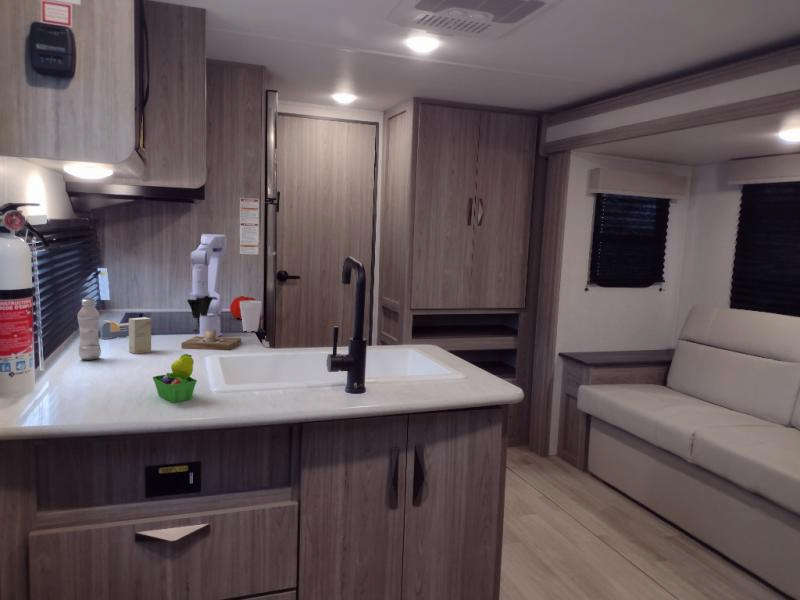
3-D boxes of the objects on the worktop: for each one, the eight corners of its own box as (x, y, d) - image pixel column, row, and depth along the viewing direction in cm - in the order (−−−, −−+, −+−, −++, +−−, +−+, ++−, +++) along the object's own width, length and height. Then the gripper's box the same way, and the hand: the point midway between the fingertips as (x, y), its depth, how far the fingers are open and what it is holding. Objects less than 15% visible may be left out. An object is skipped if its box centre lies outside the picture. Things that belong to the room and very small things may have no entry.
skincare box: (134, 354, 197) (134, 319, 196) (128, 352, 200) (127, 318, 198) (152, 351, 202) (151, 318, 201) (145, 349, 205) (145, 316, 203)
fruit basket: (151, 395, 150) (150, 353, 149) (184, 389, 156) (183, 349, 155) (169, 405, 142) (168, 361, 141) (202, 399, 148) (202, 356, 147)
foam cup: (239, 329, 254) (239, 300, 253) (260, 328, 257) (260, 300, 255) (240, 332, 245) (240, 303, 244) (261, 332, 248) (262, 303, 246)
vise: (104, 340, 219) (104, 323, 218) (93, 337, 225) (92, 320, 225) (149, 335, 233) (149, 319, 232) (137, 332, 239) (137, 316, 239)
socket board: (196, 341, 223) (196, 335, 223) (241, 343, 223) (241, 337, 223) (181, 348, 210) (181, 342, 209) (229, 350, 209) (229, 344, 209)
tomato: (262, 320, 281) (262, 297, 280) (233, 321, 274) (233, 297, 272) (254, 316, 292) (255, 294, 291) (227, 317, 285) (227, 294, 284)
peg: (207, 344, 217) (207, 329, 217) (218, 345, 217) (217, 330, 216) (202, 346, 213) (202, 331, 213) (213, 347, 213) (213, 331, 212)
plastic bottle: (91, 362, 183) (90, 301, 181) (73, 360, 185) (71, 299, 182) (105, 358, 190) (104, 299, 187) (88, 356, 191) (86, 297, 189)
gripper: (197, 280, 225) (197, 314, 226) (182, 282, 210) (182, 318, 212) (214, 280, 225) (214, 314, 226) (201, 283, 210) (201, 319, 211)
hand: (200, 316), depth 219 cm, fingers open, 7 cm apart
